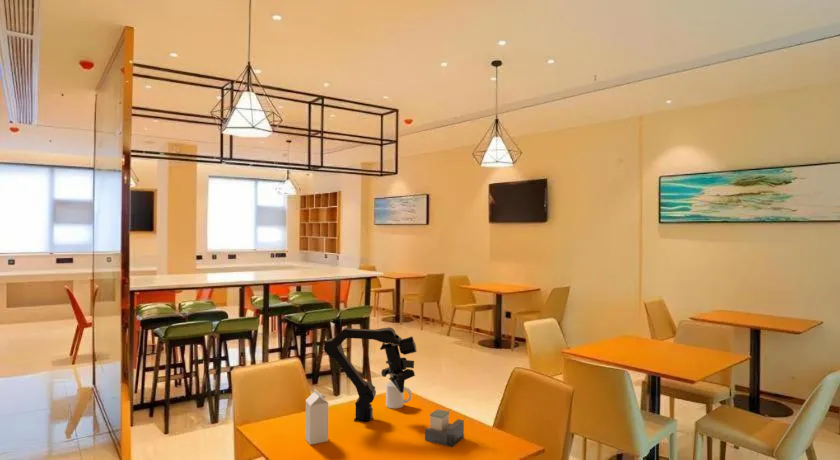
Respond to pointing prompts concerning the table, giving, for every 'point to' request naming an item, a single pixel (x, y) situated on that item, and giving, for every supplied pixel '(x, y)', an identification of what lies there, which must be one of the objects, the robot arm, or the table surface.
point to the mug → (395, 396)
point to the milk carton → (316, 418)
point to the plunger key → (439, 420)
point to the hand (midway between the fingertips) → (402, 392)
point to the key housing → (446, 434)
